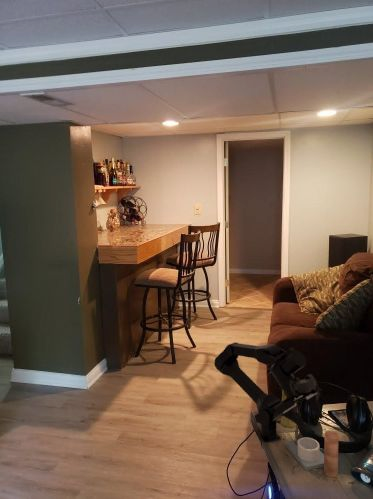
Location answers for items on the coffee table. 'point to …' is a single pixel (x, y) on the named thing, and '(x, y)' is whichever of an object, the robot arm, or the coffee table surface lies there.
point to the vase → (285, 420)
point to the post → (331, 454)
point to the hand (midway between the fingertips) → (313, 423)
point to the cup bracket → (306, 453)
